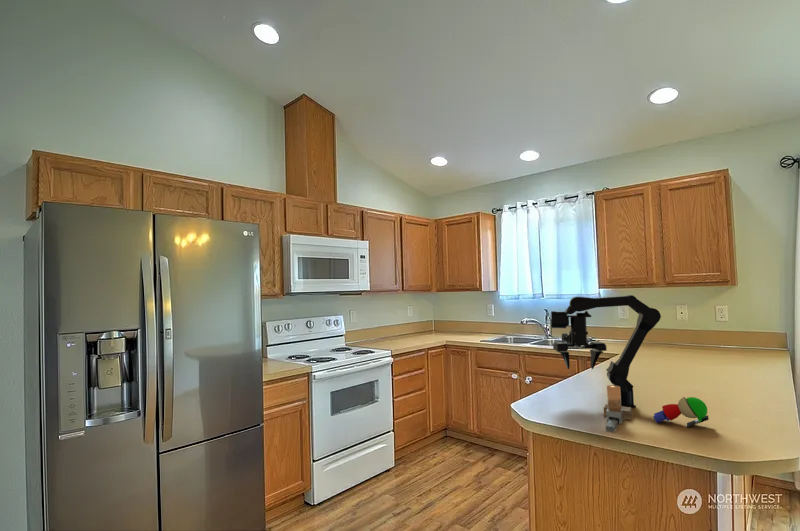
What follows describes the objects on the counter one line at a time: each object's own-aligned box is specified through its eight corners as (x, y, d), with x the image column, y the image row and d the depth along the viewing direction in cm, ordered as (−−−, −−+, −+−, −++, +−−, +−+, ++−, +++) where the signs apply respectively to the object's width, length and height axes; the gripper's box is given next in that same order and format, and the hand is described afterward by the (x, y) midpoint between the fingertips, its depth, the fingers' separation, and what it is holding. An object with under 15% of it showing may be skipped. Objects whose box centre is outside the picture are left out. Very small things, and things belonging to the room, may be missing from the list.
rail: (612, 418, 143) (612, 413, 143) (620, 419, 142) (620, 414, 142) (605, 430, 131) (605, 425, 131) (614, 432, 129) (614, 427, 129)
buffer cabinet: (606, 412, 149) (605, 403, 149) (631, 416, 145) (631, 406, 145) (603, 416, 145) (603, 406, 145) (630, 420, 141) (629, 409, 141)
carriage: (609, 417, 143) (607, 384, 143) (623, 419, 140) (621, 385, 141) (606, 421, 139) (605, 387, 139) (621, 423, 136) (619, 388, 137)
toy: (665, 437, 134) (713, 419, 127) (649, 413, 137) (696, 394, 130) (666, 429, 141) (713, 412, 134) (651, 407, 144) (696, 389, 137)
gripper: (594, 326, 172) (595, 364, 171) (548, 327, 173) (549, 365, 172) (606, 329, 161) (608, 370, 160) (557, 329, 161) (558, 370, 161)
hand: (580, 368), depth 163 cm, fingers open, 9 cm apart
